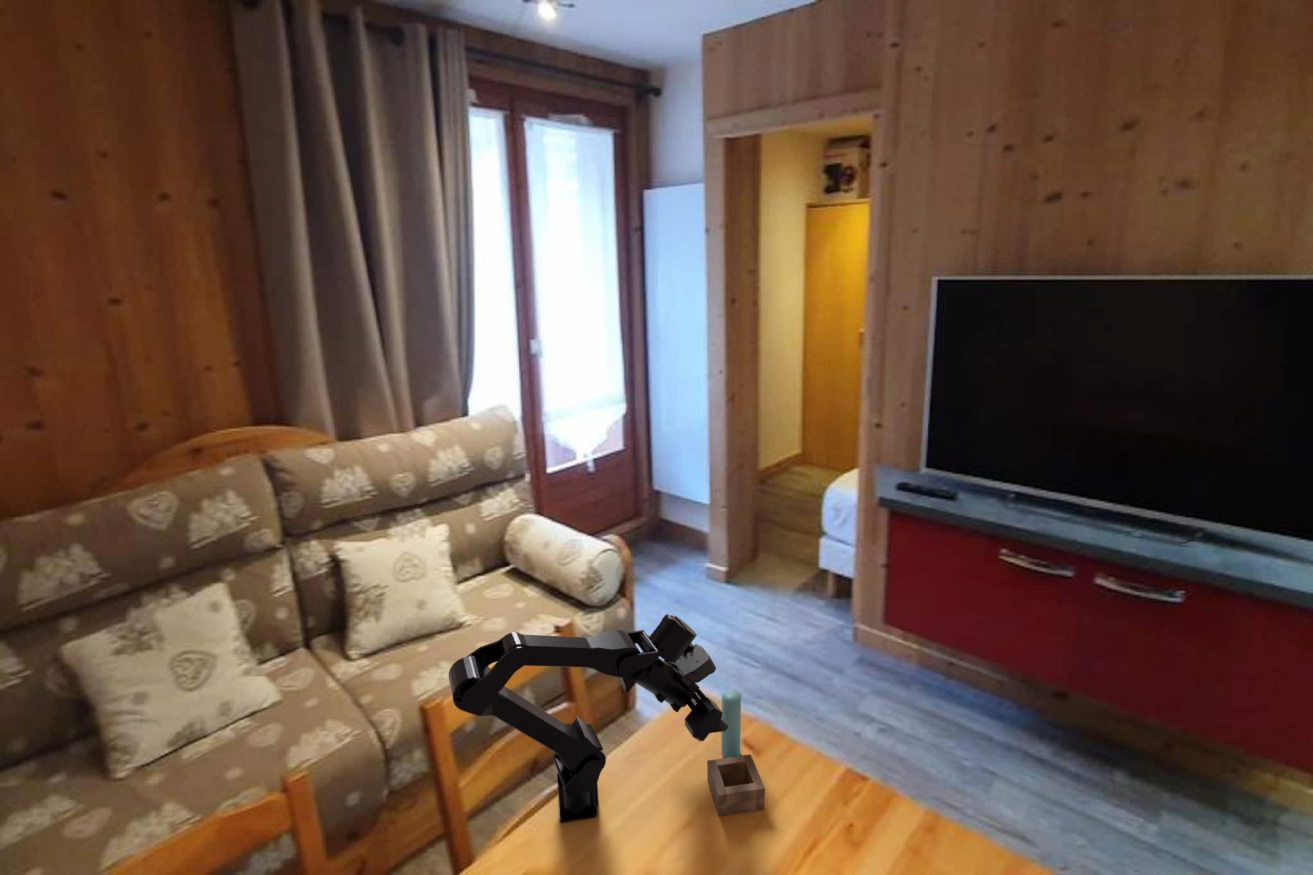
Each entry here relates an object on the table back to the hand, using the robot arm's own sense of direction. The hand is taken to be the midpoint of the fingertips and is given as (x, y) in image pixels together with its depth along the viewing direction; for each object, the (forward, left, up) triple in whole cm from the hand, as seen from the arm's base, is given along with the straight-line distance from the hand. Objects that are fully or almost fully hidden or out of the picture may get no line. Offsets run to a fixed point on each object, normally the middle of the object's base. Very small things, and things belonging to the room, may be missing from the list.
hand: (715, 712), depth 126 cm
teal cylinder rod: (+3, +1, -10) cm, 11 cm away
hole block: (+1, -9, -10) cm, 14 cm away
